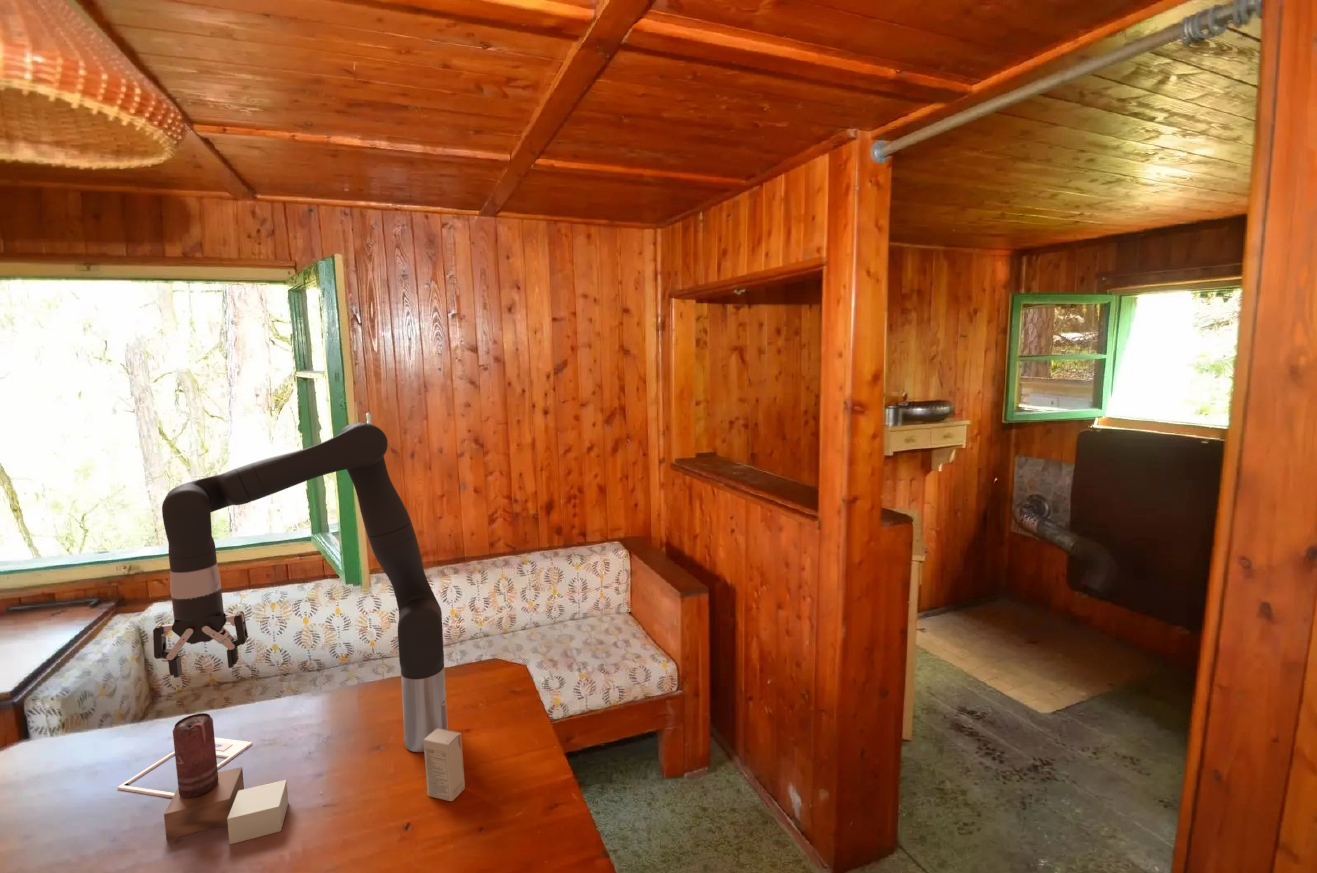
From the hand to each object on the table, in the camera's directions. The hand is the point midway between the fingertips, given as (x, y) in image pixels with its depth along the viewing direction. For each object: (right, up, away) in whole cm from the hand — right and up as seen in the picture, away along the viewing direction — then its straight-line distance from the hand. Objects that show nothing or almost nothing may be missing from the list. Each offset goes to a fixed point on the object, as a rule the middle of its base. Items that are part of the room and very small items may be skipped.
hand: (205, 671), depth 116 cm
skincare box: (+44, -27, +7) cm, 52 cm away
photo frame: (-15, -27, +15) cm, 35 cm away
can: (-1, -23, +1) cm, 23 cm away
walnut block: (0, -28, +1) cm, 28 cm away
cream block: (+12, -28, -2) cm, 31 cm away
